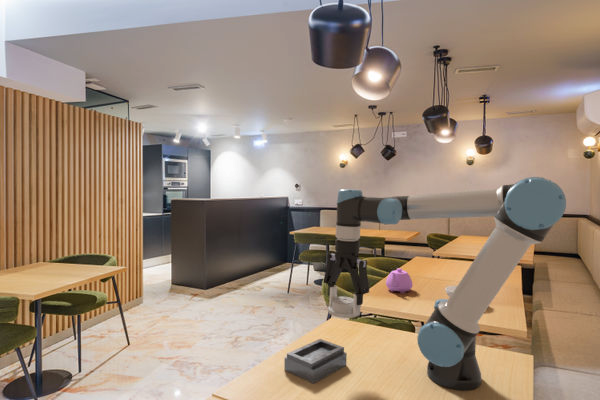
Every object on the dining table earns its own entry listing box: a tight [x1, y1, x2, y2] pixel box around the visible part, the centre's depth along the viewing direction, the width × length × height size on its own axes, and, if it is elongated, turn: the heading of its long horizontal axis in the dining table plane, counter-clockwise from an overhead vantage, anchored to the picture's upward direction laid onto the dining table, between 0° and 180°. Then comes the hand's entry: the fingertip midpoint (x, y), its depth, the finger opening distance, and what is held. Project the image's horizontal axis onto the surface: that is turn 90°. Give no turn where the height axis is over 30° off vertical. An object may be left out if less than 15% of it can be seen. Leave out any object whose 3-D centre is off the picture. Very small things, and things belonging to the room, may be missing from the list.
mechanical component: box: [327, 295, 361, 319], centre depth 121 cm, size 10×4×10 cm
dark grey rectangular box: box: [283, 338, 347, 385], centre depth 123 cm, size 12×19×6 cm, turn 137°
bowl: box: [444, 285, 458, 298], centre depth 189 cm, size 16×16×7 cm
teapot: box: [385, 267, 413, 294], centre depth 211 cm, size 20×14×12 cm
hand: (344, 310), depth 121 cm, fingers closed on mechanical component, 9 cm apart
